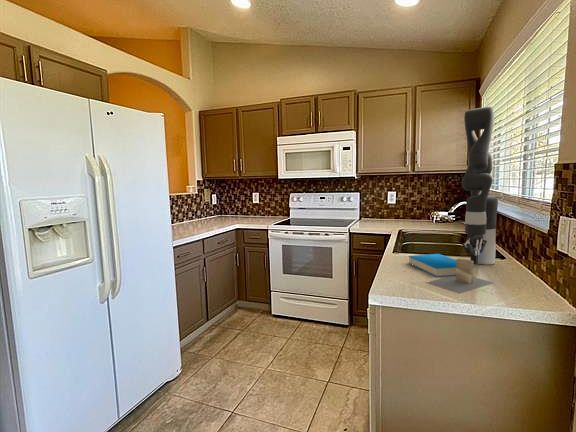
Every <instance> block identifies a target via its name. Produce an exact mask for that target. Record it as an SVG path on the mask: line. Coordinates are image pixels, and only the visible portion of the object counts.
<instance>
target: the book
mask: <svg viewBox="0 0 576 432" xmlns="http://www.w3.org/2000/svg"><path fill="white" fill-rule="evenodd" d="M456 261H457V259H455V258H453V257H450V256H446V255H443V254H440V253H432V254H431V253H430V254H420V255H419V254H417V255H408V265H411V266H413V267H415V268H416V269H419V270H421V271H424V272H426V273H427V274H429V275H432V276H434V277H435V278H437V277H439V278H441V277H448V276H453V275H456ZM412 264H413V265H412Z"/></svg>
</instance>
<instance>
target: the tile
mask: <svg viewBox="0 0 576 432" xmlns="http://www.w3.org/2000/svg"><path fill="white" fill-rule="evenodd" d="M456 260H457V261H456V280H458V281H462V282H465V283H469V284H471V283H473V277H474V265H475V264H474V261H471V259H467V258H466V259H465V258H461V257H458V258H456Z"/></svg>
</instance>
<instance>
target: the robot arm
mask: <svg viewBox="0 0 576 432" xmlns="http://www.w3.org/2000/svg"><path fill="white" fill-rule="evenodd" d="M463 121H464V127H465V129H464V130H465V135H466V141H467V152H468V154H467V155H468V162H467V163H468V164H467V168H466V170H465V173H464V175H463V178H462V180H461V186H462V188H463V190H464V191H467V192H470V196H469V197H467V198H466V202H465V203H466V204H465V205H466V207H465V209H466V210H465V216H464V218H465V219H464V233H465V234H466V235H467V237H466V242H463V243H462V247H463V249H464V251H465V252H466V254H468V255H470V260H471V261H474V264H473V265H477V264H478V265H494V264H495V262H496V255H497V254H496V251H497V250H496V249H497V244H496V238H497V237H496V235H497V234H496V233H497V231H496V230H497V217H498V216H497V215H498V206H499V205H498V204H499V203H498V202H499V201H498V200H499V199H498V197H497V196H496V195H494V194H493V195H489V193H490V190H491V187H492V184H493V176H492V175H491V174H492V171H493V159H492V154H491V153H490V152H489V150H490V144H491V140H492V135H493V130H494V124H495V112H494V108H493V107H492V106H484V107H478V108H471V109H468V110H466V111H465V113H464V120H463ZM480 130H483V131H482V133H481V134H480V136H479V138H478V137H477V134H476V132H475V131H480Z"/></svg>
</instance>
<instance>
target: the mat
mask: <svg viewBox="0 0 576 432" xmlns="http://www.w3.org/2000/svg"><path fill="white" fill-rule="evenodd" d="M425 284H428V285H431V286H433V287H434V286H435V287H438V288H441V289H444V290H447V291H450V292H453V293H457V294H458V295H459V294H463V293H465V292H466V293H467V292H469V291H472V290H476V289H478V288H482V287H485V286H489V285H492V284H495V282H494V281H490V280H485V279H482V278H479V277H474V276H473V283H471V284H469V283H465V282H462V281H458V280H456V275H453V276H444V277H440V278H437V279H434V280H429V281H427V282H425Z"/></svg>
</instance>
